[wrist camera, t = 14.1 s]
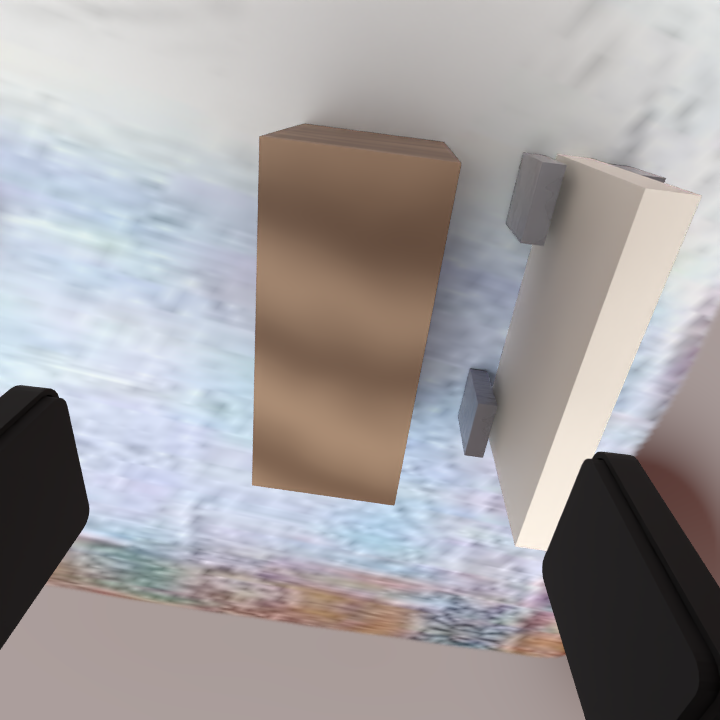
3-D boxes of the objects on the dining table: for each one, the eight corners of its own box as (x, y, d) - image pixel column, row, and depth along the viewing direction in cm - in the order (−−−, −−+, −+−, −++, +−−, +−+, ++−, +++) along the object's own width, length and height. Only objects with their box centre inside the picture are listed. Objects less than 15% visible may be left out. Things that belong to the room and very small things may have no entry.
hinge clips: (523, 152, 29) (542, 161, 25) (629, 166, 29) (665, 178, 25) (457, 416, 37) (464, 454, 33) (540, 427, 37) (556, 468, 33)
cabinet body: (303, 123, 29) (259, 136, 20) (443, 142, 29) (461, 162, 20) (288, 392, 37) (252, 485, 28) (396, 407, 37) (394, 505, 28)
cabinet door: (556, 153, 29) (645, 188, 18) (606, 160, 29) (724, 198, 18) (483, 417, 37) (515, 546, 27) (522, 422, 37) (568, 554, 26)
